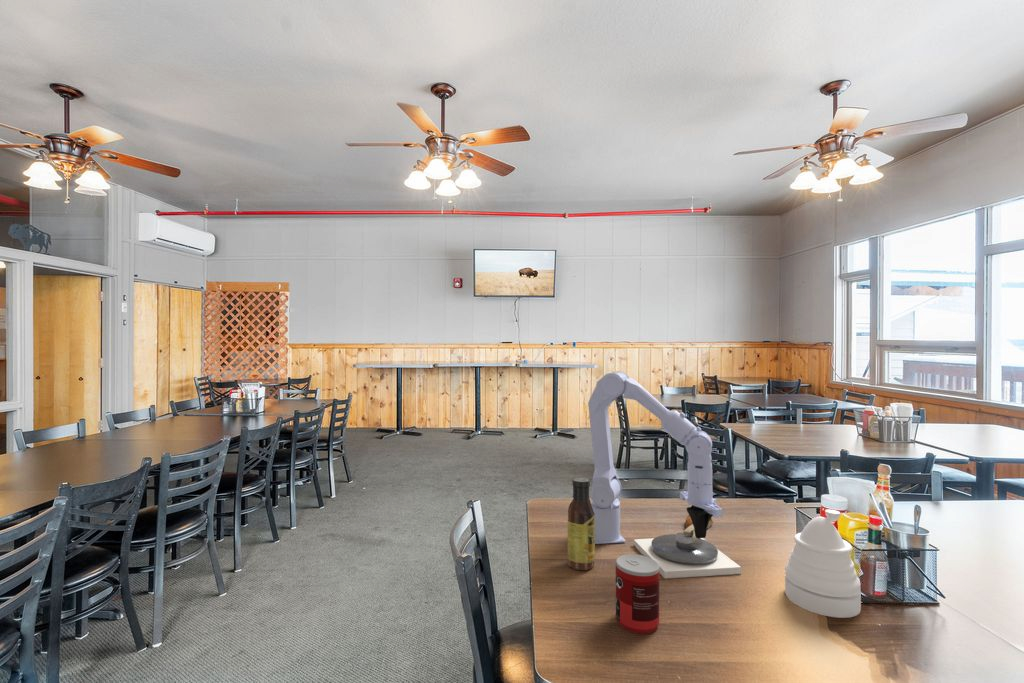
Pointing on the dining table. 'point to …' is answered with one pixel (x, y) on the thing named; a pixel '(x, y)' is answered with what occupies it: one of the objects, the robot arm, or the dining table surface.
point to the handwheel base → (679, 570)
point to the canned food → (637, 593)
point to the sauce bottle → (581, 527)
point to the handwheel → (684, 548)
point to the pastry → (689, 522)
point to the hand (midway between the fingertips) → (700, 537)
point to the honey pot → (823, 570)
